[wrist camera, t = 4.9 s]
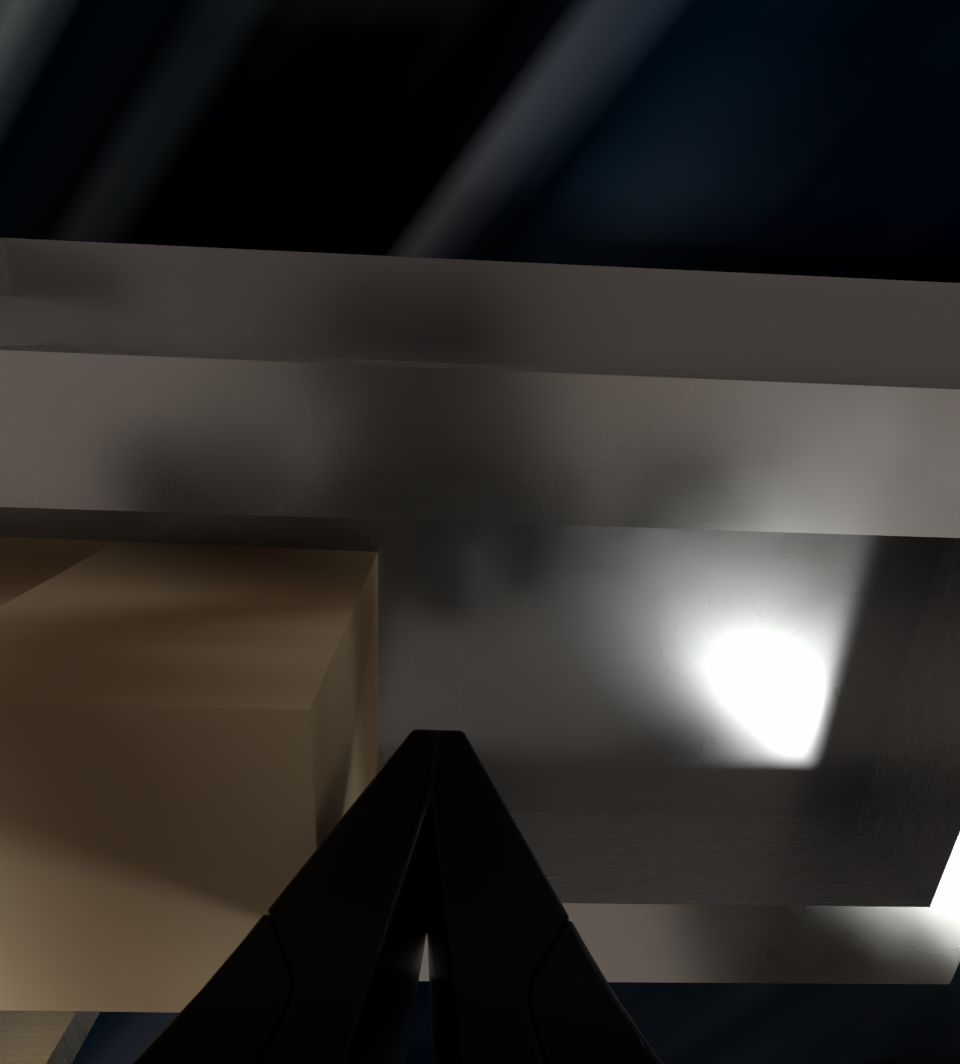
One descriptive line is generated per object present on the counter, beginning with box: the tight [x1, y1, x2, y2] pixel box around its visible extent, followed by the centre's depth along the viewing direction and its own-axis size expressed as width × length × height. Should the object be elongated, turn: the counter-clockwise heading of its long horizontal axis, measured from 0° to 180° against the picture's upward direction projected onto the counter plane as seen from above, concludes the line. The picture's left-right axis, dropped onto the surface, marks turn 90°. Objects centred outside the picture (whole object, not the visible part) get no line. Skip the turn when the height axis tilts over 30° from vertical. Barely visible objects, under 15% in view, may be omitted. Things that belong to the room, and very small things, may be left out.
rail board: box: [0, 237, 960, 1064], centre depth 9 cm, size 30×14×4 cm, turn 88°
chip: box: [0, 541, 379, 1012], centre depth 8 cm, size 4×4×4 cm
